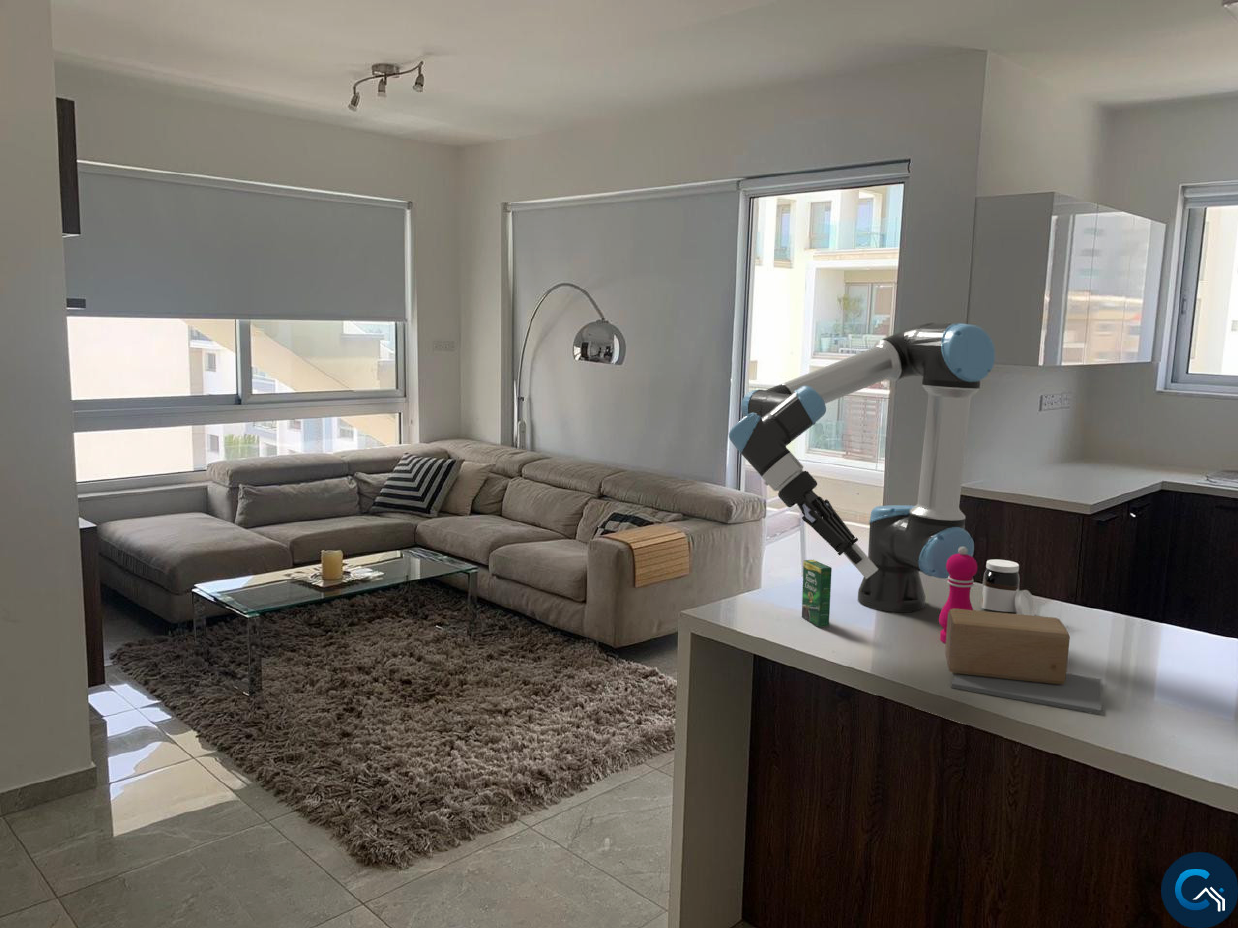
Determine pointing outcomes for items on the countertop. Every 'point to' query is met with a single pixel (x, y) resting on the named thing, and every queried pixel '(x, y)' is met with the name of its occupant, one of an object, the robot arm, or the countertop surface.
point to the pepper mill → (958, 585)
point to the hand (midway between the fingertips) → (872, 574)
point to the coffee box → (816, 592)
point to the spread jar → (1005, 589)
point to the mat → (1039, 690)
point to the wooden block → (1007, 646)
